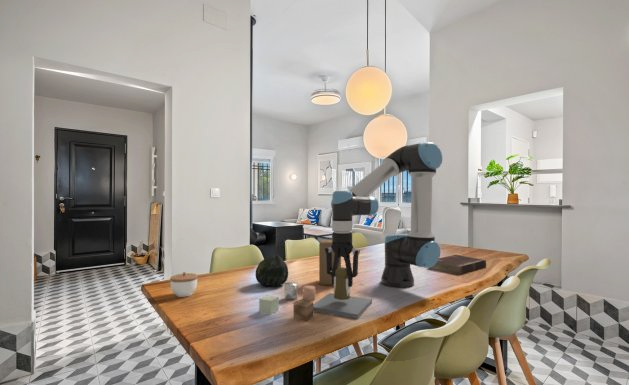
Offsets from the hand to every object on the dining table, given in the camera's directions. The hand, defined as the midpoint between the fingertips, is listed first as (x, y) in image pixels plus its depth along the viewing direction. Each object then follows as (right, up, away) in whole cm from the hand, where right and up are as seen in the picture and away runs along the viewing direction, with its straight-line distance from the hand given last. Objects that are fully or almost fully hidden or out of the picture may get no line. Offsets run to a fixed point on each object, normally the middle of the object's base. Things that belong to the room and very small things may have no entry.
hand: (342, 294), depth 123 cm
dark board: (0, -5, 0) cm, 5 cm away
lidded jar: (-65, -5, +15) cm, 67 cm away
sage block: (-27, -5, -5) cm, 28 cm away
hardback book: (+72, -6, +65) cm, 97 cm away
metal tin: (-20, -5, +10) cm, 23 cm away
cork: (0, -1, 0) cm, 1 cm away
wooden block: (-3, -5, +34) cm, 34 cm away
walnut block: (-14, -5, -11) cm, 18 cm away
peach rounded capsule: (-13, -5, +8) cm, 16 cm away
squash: (-30, -5, +30) cm, 43 cm away
